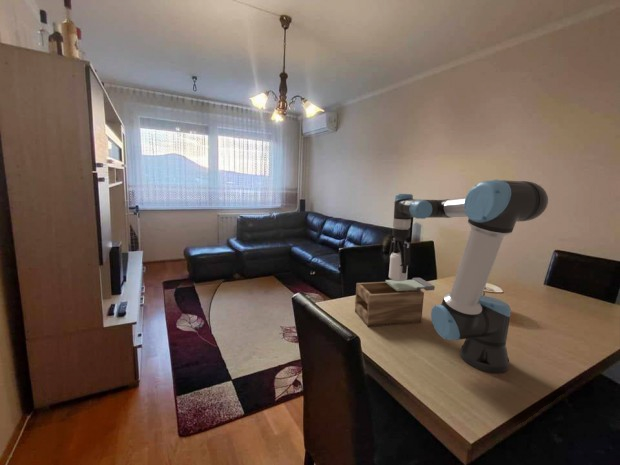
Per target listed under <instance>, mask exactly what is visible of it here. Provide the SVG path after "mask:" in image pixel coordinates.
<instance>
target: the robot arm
mask: <svg viewBox="0 0 620 465" xmlns="http://www.w3.org/2000/svg"><path fill="white" fill-rule="evenodd" d="M413 196H414V195H413V194H411V193H396V195H395V198H394V204H393V205H394V206H393V207H394V208H393V222H392V227H393V228H392V233H391V234H392V236H393V237H391V238H390V247H389V253H388V258H389V259H390V256H391V254H392V253H393V252H394V253H399V252H400V256H401V263H402V265H400V278H399V279H400V280H407V279H406V272H407V266H408V267H409V266H411V247H412V246H411V245H412V244H411V242H408V238H410V236H411V229H410V228H411V223H412V218H415V219H424V220H425V219H429V218H431V219H432V218H433V219H434V218H436V219H437V218H439V219H440V218H443V219H445V218H446V219H450V218H464V217H466V218H468V220H467V224H469V226H470V228H471V229H470V230H469V234H468V239H467V240H466V244H465V247H464V249H463V253H462V256H461V259H460V262H459V265H458V269H457V271H456V275H455V279H454V281H453V284H452V286H451V290H450V292H446V293H445V294H444V296H443V299H442V302H441V304H440V303H439V304H437V303H436V304H435V305H433V307H431V311H430V318H431V322H432V326H433V327H434V330H435V331H436V333H437V334H438V335H439V336H440V338H442V339H444V340H446V341H458V340H464V339H465V340H464V341H463V344H462V345H461V346H460V353H459V355H460V357H461V359H462V360H463V361H464V362H465V363H466V364H468V365H470V366H472V367H474V368H475V369H477V370H480V371H483V372H488V373H492V374H502V373H506V372H507V371H508V370H509V368H510V358H509V356H508V351H507V350H508V349H507V339H508V332H509V326H510V322H511V321H510V319H511V316H512V315H511V310H512V309H511V307H510V305H509V304H508V303H506V302H505V301H503V300H501V299H498V298H495V297H493V296H492V297H491V296H488V295H483V292H484V290H485V287H486V284H487V281H488V280H489V277H490V274H491V273H492V272H491V271H492V268H493V266H494V263H495V261H496V258H497V256H498V253H499V250H500V248H501V244H502V243H503V239H504V237H505V236H507V235H510V234H513V230H514V229H515V227H516V226H515V225H516V223H517V222H529V221H532V220H534V219H536V218H538V217H540V216H541V215H542V214H543V213H544V212H546V210H547V207H548V205H549V196H548V194H547V191H546V190H545V189H544V188H543V187H542V186H541V185H539V184H537V183H536V182H532V181H529V180H528V181H526V180H521V181H520V180H507V179H506V180H505V179H492V180H491V179H490V180H484V181H483V180H482V181H480V182H478V183H477V184H475V185H473V186H472V188H470V190H469V191H467V194H466V196H465V197H457V198H456V197H455V198H448V199H416V198H414V197H413ZM407 273H408V272H407Z"/></svg>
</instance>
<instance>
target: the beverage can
mask: <svg viewBox="0 0 620 465" xmlns="http://www.w3.org/2000/svg"><path fill="white" fill-rule="evenodd" d="M400 265H402V263H401V256H400V251H399V253H394V252H393V253H392V254H391V256H390V258H389V268H388V269H389V270H388V278H389V280H394V281H404V280H400V279H399V278H400ZM408 268H409V266H407V272H406V280H408V273H409V272H408Z"/></svg>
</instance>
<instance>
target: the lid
mask: <svg viewBox="0 0 620 465" xmlns="http://www.w3.org/2000/svg"><path fill="white" fill-rule="evenodd" d="M384 282H386V283H387V284H388V285H390V286H391V287H392V288H394V289H395V290H397V291H408V290H417V287H420V288H421V290H425V291H426V292H427V291H434V290H435V288H436V287H435V285H434V284H432V283H430V282H428V281H426V280H424V279H423V278H421V277H412V279H406V280H404V281H394V280H392V279H385V281H384Z"/></svg>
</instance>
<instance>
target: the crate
mask: <svg viewBox="0 0 620 465" xmlns="http://www.w3.org/2000/svg"><path fill="white" fill-rule="evenodd" d="M355 286H356V287H355V302H354V303H355V304H354V312H355V314H357V316H358V317H359V318H360V320H361V321H363V323H364V325H366V327H367V328H370V327H371V328H373V327H382V326H383V327H384V326H396V325H406V324H407V325H408V324H409V325H410V324H420V323H422V320H423V319H422V318H423V310H424V309H423V307H424V306H423V305H424V296H425V292H424V291H422V289H421V288H420V287H417V290H408V291H397V290H395V289H394V288H392V287H391V286H390V285H388V284H387V283H386V282H385V281H373V282H370V281H369V282H356V285H355Z"/></svg>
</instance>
